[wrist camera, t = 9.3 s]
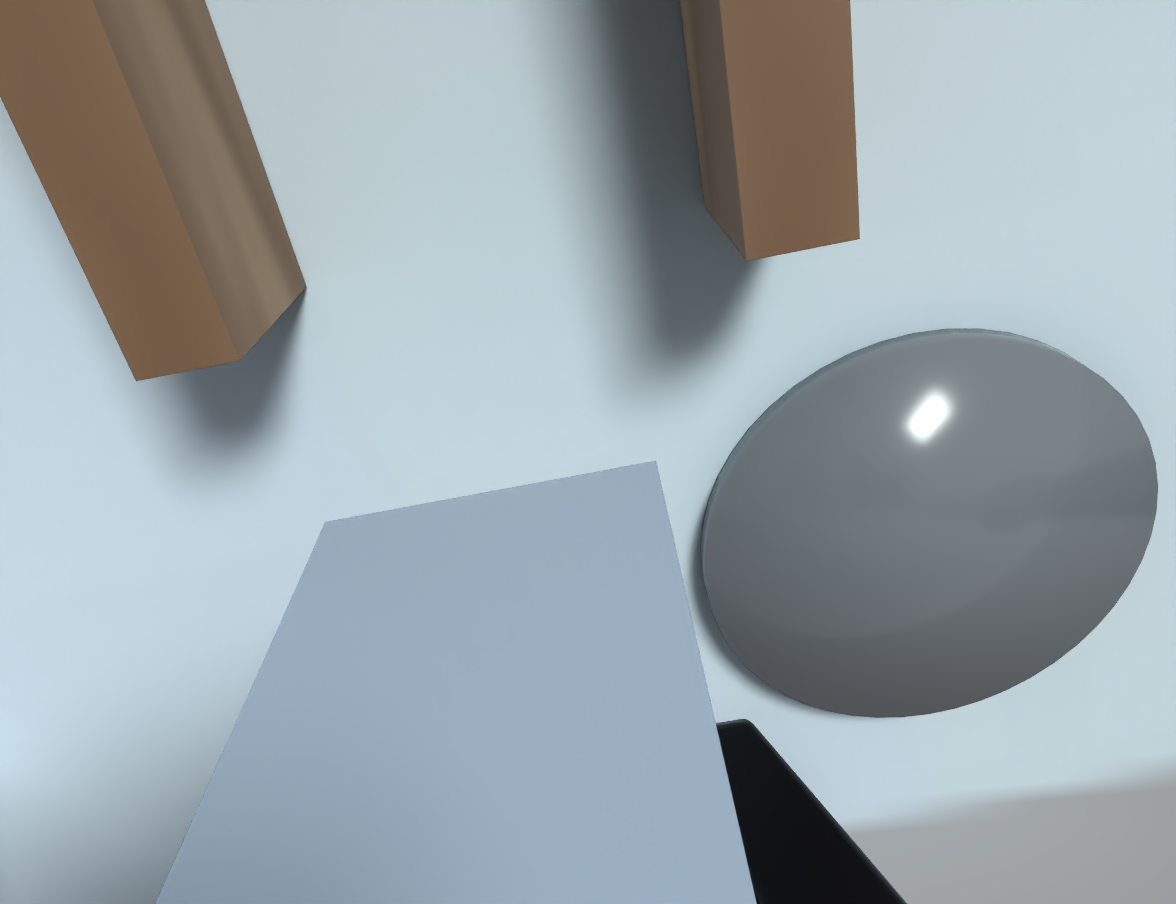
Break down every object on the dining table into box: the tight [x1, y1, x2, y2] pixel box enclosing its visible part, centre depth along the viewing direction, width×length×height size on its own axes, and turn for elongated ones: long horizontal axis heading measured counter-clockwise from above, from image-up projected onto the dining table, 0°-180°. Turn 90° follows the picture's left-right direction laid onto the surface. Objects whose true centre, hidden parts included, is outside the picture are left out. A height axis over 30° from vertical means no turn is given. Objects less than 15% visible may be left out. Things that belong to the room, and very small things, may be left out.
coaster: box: [701, 329, 1158, 718], centre depth 17 cm, size 9×9×1 cm
